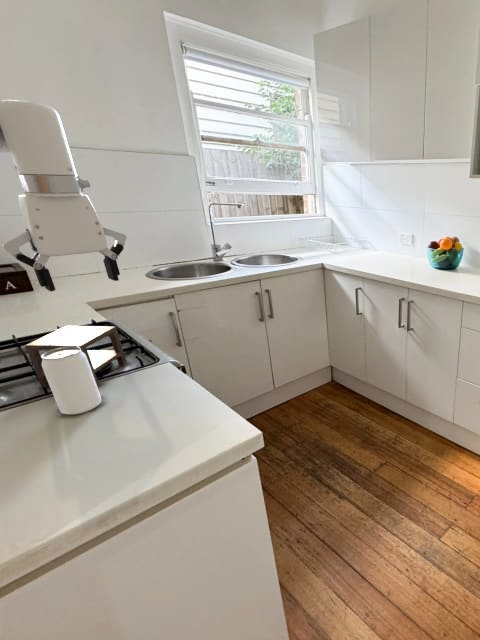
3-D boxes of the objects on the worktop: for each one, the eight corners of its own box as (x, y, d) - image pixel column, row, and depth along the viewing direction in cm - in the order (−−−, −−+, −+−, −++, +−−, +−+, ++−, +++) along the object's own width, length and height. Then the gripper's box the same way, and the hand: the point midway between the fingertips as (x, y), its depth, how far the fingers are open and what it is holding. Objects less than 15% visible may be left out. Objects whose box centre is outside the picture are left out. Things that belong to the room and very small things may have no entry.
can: (84, 396, 79) (65, 343, 74) (110, 400, 78) (92, 347, 73) (51, 413, 74) (28, 357, 69) (79, 418, 72) (57, 361, 68)
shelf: (41, 387, 82) (24, 345, 78) (80, 364, 92) (66, 325, 88) (95, 387, 83) (80, 345, 79) (127, 364, 93) (115, 326, 89)
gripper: (103, 185, 73) (127, 273, 80) (-27, 185, 60) (15, 290, 67) (120, 187, 69) (143, 279, 76) (-16, 187, 56) (28, 298, 63)
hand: (83, 284), depth 72 cm, fingers open, 9 cm apart
